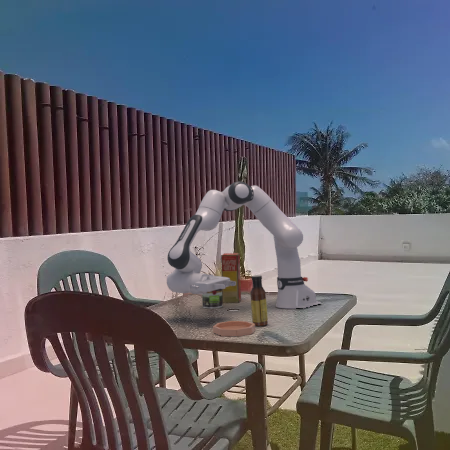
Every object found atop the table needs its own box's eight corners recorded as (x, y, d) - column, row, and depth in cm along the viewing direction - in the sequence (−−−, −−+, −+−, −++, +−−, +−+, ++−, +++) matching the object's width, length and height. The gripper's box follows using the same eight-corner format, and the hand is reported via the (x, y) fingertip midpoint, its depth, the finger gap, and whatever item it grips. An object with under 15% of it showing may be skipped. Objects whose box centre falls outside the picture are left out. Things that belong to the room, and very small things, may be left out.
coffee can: (225, 307, 237) (224, 278, 237) (204, 309, 234) (203, 280, 234) (220, 304, 247) (218, 276, 247) (200, 306, 244) (199, 278, 244)
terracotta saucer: (241, 325, 194) (241, 319, 194) (261, 332, 181) (261, 325, 181) (208, 330, 187) (207, 324, 187) (226, 338, 174) (226, 331, 174)
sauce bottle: (267, 323, 198) (265, 274, 198) (268, 326, 191) (266, 276, 191) (251, 323, 197) (249, 275, 197) (252, 327, 191) (250, 276, 191)
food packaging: (239, 303, 249) (237, 254, 249) (221, 303, 250) (219, 255, 250) (241, 298, 262) (240, 252, 262) (224, 299, 263) (222, 253, 263)
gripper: (188, 279, 197) (218, 280, 190) (212, 274, 215) (240, 274, 209) (188, 294, 197) (218, 296, 190) (212, 288, 215) (240, 289, 209)
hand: (230, 285), depth 200 cm, fingers open, 8 cm apart
